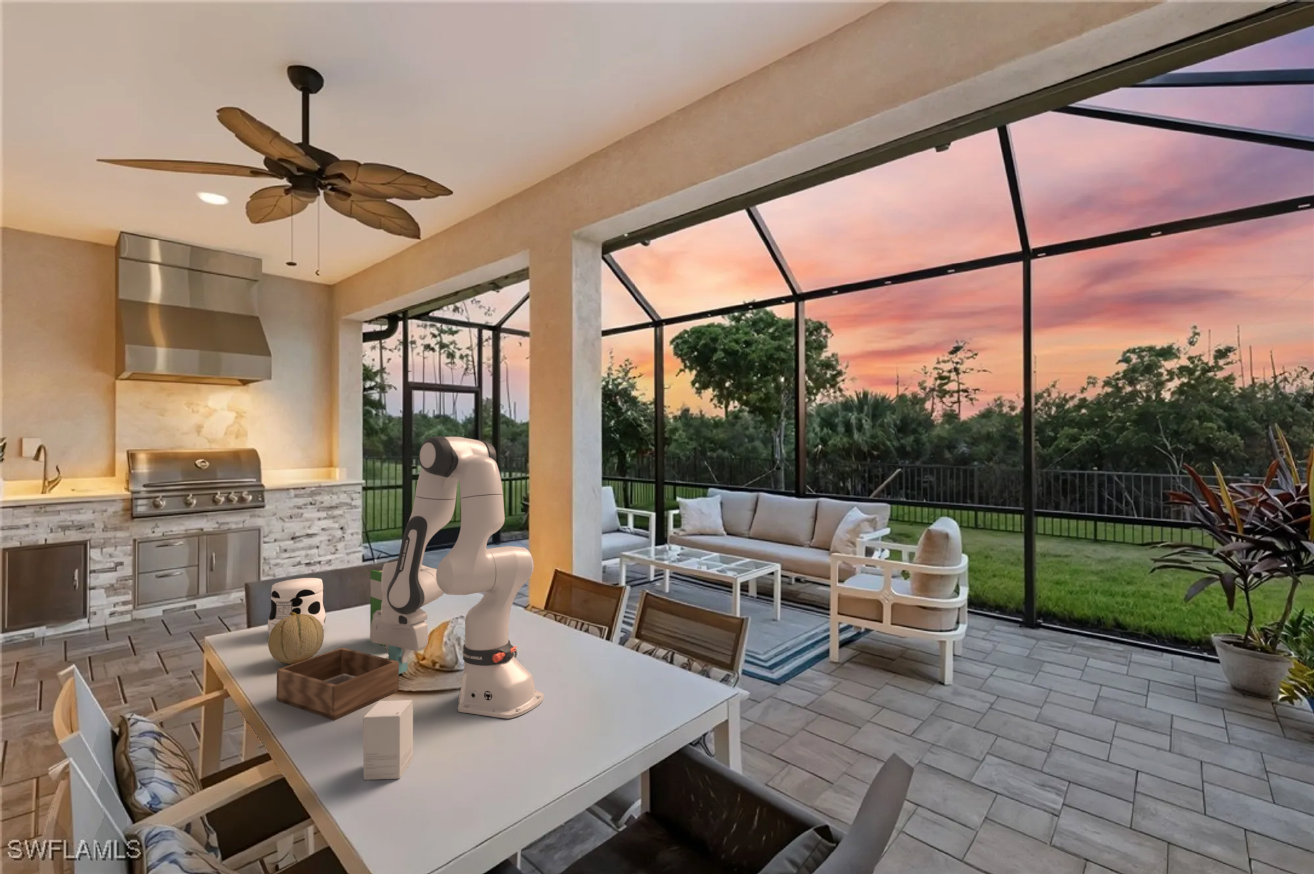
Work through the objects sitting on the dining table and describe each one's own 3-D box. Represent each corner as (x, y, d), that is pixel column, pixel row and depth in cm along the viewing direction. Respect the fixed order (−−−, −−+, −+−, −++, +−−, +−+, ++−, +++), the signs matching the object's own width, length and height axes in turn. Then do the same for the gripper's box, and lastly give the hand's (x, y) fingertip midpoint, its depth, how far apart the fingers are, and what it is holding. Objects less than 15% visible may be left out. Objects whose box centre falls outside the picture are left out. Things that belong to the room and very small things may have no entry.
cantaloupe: (297, 673, 164) (297, 621, 164) (255, 669, 167) (255, 619, 167) (335, 654, 178) (335, 607, 179) (296, 651, 181) (296, 605, 182)
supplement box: (414, 758, 119) (414, 698, 119) (399, 779, 112) (399, 715, 112) (379, 759, 119) (379, 699, 119) (361, 780, 111) (362, 716, 111)
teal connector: (407, 670, 164) (407, 642, 164) (395, 675, 160) (395, 647, 161) (400, 668, 165) (400, 641, 165) (388, 673, 162) (388, 645, 162)
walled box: (398, 691, 152) (398, 661, 152) (334, 720, 136) (334, 686, 136) (342, 675, 163) (342, 647, 163) (276, 700, 147) (276, 669, 147)
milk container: (321, 622, 211) (321, 574, 212) (329, 634, 198) (329, 583, 198) (265, 632, 200) (265, 582, 201) (270, 645, 187) (270, 591, 187)
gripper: (364, 611, 165) (364, 659, 165) (413, 620, 156) (413, 670, 156) (383, 606, 171) (383, 652, 170) (431, 614, 162) (431, 662, 161)
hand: (398, 661), depth 163 cm, fingers closed on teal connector, 3 cm apart
